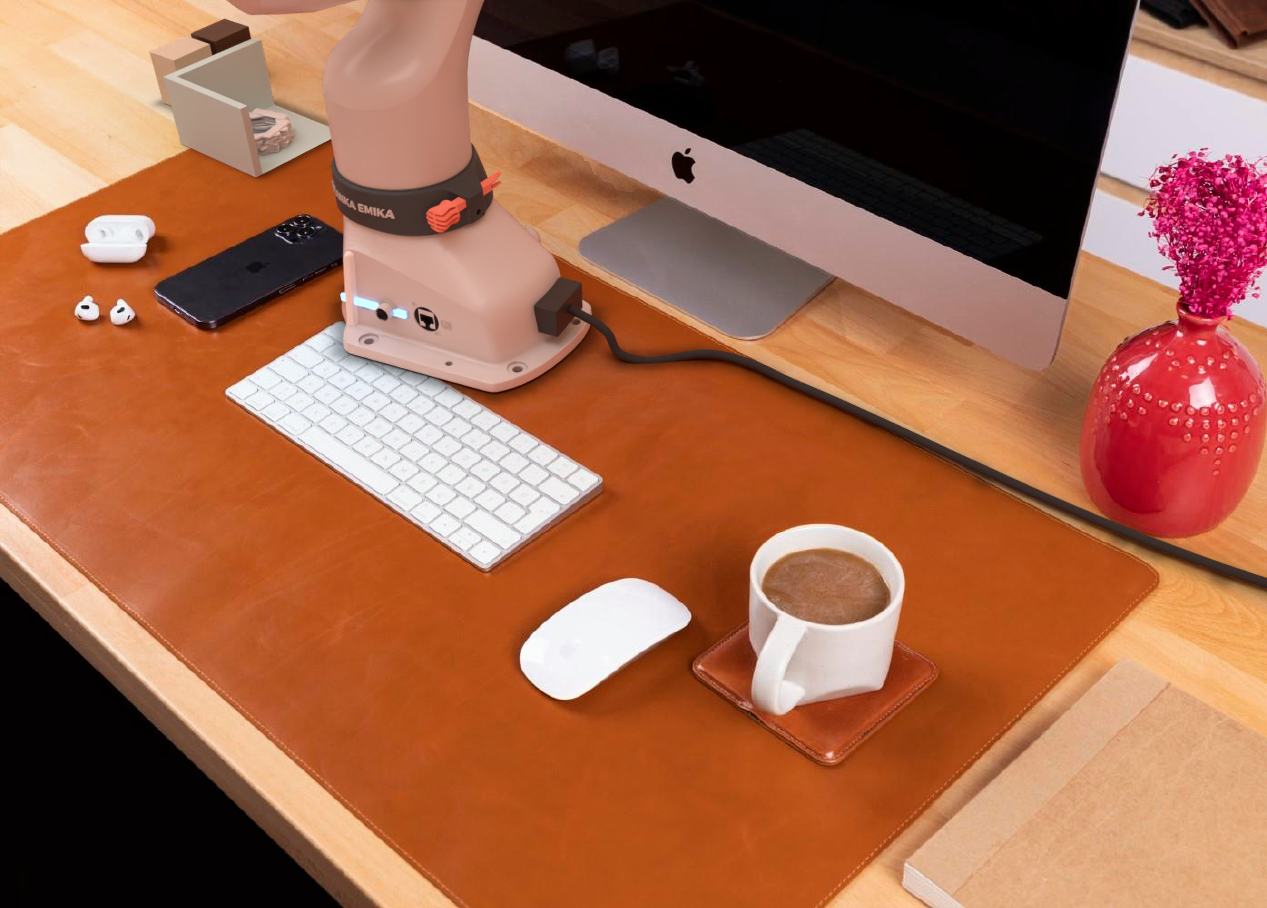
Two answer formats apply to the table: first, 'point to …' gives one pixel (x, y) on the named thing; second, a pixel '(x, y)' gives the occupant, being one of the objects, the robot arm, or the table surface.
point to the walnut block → (222, 35)
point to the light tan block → (177, 59)
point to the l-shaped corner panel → (238, 112)
